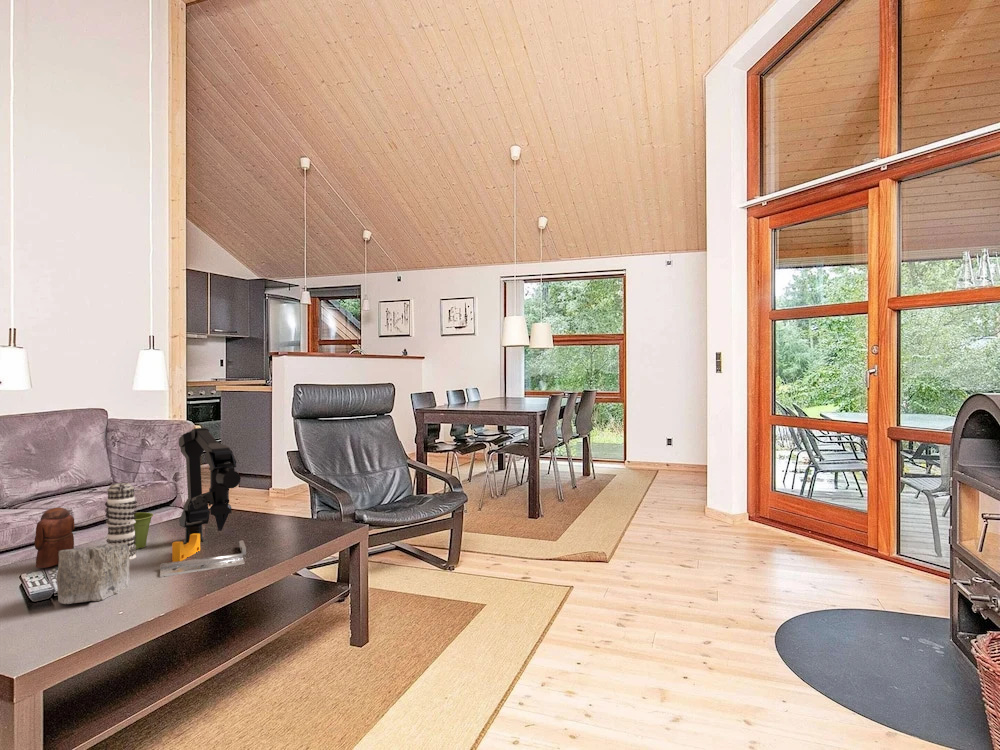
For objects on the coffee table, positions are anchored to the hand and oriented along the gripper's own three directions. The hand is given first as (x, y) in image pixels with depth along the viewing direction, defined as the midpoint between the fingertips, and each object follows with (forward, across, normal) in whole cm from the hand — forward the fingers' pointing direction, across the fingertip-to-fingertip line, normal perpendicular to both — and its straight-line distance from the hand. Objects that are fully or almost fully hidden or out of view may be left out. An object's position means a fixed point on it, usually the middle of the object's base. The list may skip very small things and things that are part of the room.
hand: (219, 530), depth 209 cm
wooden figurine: (+9, -16, -49) cm, 52 cm away
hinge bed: (+9, +9, -6) cm, 13 cm away
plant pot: (+9, -24, -26) cm, 37 cm away
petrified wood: (+9, +23, -34) cm, 41 cm away
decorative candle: (+9, -12, -30) cm, 33 cm away
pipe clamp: (+9, -4, -11) cm, 15 cm away
